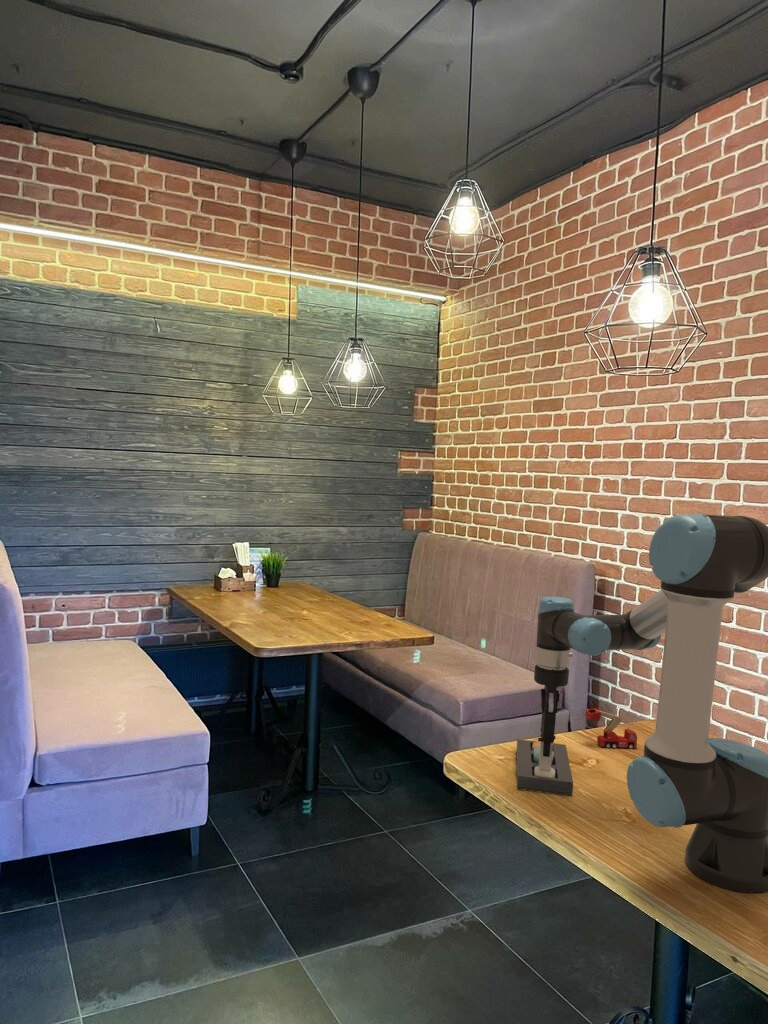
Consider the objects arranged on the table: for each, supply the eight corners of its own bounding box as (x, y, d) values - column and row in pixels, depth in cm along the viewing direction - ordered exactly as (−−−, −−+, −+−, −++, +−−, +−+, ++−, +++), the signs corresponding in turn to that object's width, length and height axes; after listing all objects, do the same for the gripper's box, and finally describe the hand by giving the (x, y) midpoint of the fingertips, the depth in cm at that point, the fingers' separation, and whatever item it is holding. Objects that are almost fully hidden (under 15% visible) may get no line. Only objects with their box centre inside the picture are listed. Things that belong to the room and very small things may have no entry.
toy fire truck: (638, 749, 198) (641, 713, 198) (587, 748, 197) (589, 711, 197) (633, 745, 202) (636, 709, 201) (583, 743, 201) (585, 707, 200)
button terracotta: (551, 761, 185) (552, 749, 185) (532, 759, 185) (532, 747, 185) (550, 754, 189) (551, 742, 189) (531, 752, 190) (532, 740, 190)
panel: (572, 795, 167) (573, 782, 167) (517, 789, 169) (518, 775, 168) (564, 756, 190) (565, 744, 190) (516, 750, 192) (517, 739, 192)
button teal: (553, 768, 177) (554, 755, 177) (533, 765, 177) (534, 753, 177) (552, 761, 181) (553, 748, 181) (532, 758, 182) (533, 746, 182)
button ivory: (554, 787, 169) (555, 774, 169) (533, 785, 170) (534, 772, 170) (553, 779, 173) (554, 766, 173) (533, 777, 174) (534, 764, 174)
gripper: (571, 675, 163) (563, 781, 164) (567, 660, 176) (559, 759, 177) (535, 671, 164) (528, 777, 166) (534, 657, 177) (527, 756, 178)
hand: (544, 768), depth 171 cm, fingers closed
